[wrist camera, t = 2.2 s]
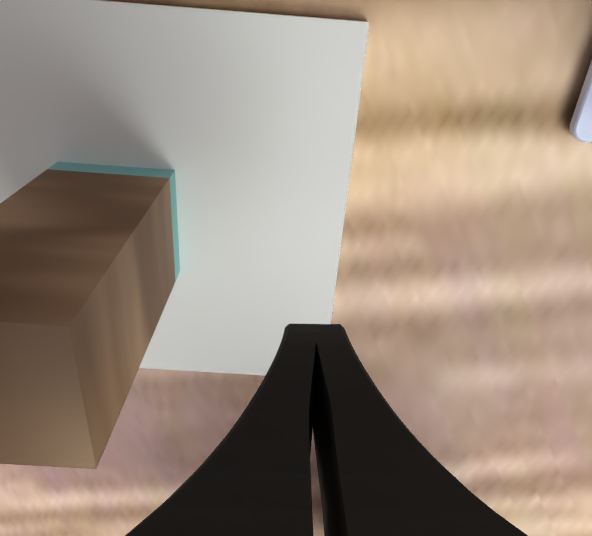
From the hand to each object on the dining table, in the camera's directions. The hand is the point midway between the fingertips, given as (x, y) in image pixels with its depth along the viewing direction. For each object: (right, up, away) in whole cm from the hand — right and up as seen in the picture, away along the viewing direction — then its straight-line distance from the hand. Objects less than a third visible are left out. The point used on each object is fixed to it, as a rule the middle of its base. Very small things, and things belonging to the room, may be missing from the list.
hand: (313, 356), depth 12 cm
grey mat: (-8, +4, +6) cm, 11 cm away
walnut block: (-7, +4, +6) cm, 10 cm away
